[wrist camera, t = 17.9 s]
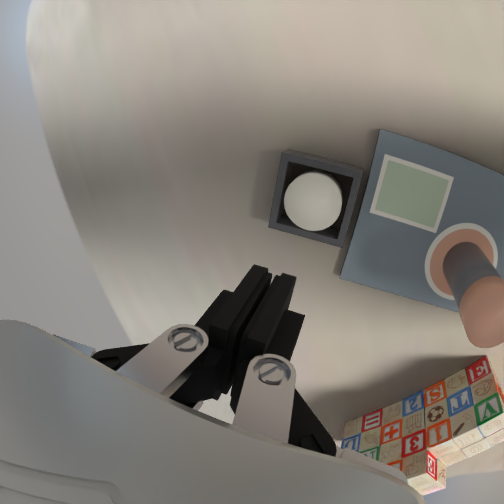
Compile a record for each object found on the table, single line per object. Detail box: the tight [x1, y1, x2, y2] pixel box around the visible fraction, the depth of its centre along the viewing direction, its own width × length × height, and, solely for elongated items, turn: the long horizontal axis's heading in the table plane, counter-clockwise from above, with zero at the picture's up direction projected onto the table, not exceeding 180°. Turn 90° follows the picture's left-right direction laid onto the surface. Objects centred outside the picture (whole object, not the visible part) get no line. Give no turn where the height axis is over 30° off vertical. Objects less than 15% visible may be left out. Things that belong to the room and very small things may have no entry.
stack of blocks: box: [341, 356, 504, 496], centre depth 28 cm, size 21×6×12 cm, turn 136°
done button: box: [284, 170, 343, 231], centre depth 26 cm, size 5×5×2 cm
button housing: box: [268, 150, 363, 248], centre depth 27 cm, size 7×7×2 cm
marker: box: [443, 242, 504, 348], centre depth 21 cm, size 5×5×9 cm
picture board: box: [340, 129, 504, 312], centre depth 25 cm, size 17×14×1 cm
